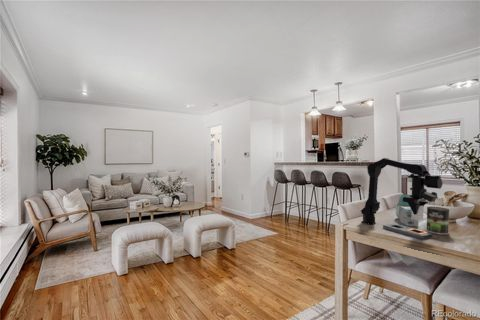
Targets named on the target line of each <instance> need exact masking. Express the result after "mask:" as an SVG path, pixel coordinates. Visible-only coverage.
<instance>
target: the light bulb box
mask: <svg viewBox="0 0 480 320" xmlns="http://www.w3.org/2000/svg"><path fill="white" fill-rule="evenodd" d="M411 212H412V210H411V208H410V207H404V206H400V219H399V222H400V223H402V224H403V225H404V226H406V227H416V228H417V227H419V221H418V220H414V219H411Z"/></svg>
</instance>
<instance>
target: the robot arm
mask: <svg viewBox="0 0 480 320" xmlns="http://www.w3.org/2000/svg"><path fill="white" fill-rule="evenodd" d="M387 166H390V167H394V168H397V169H402V170H404V171H406V172H408V173H410V175H408V176H407V178H408V179H411V187H409V190H410V191H411V194H409V195H410V197H409V196H406V197H403V202H407V203H408V204H409V206H410V208H411V210H412V212H413V213H414V214H415V215H416V214H417V208H418V205H423V206H424V207H425V205H427V204H428V203H431V202H436V200H437V199H438V193H437V192H435V191H432V192H429V191H428V190H427V189H429V188H430V189H441V188H442V187H443V180H442V178H441V175H431V174H430V173H429V171H428V170H427V166H426V165H424V164H422V163H421V164H420V163H410V162H409V163H408V162H404V161H400V160H396V159H391V158H389V157H383V158H381V159H379V160H377V161H375V162H372V163H369V164H368V165H367V166H366V167H367V169H366V171H367V175H368V176H369V181H368V182H369V183H368V196H367V199H366V201H365V203H364V207H363V208H362V209H361V210H360V213H361V215H362V221H361V223H362V224H367V225H374V224H377V222H376V216H375V215H376V214H377V212H378V211H379V209H380V204H381V202H380V201H378V199H377V197H378V196H377V195H378V181H379V177H380V175H381V174H382V173H381V172H382V169H384V168H385V167H387ZM426 188H427V189H426Z"/></svg>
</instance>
